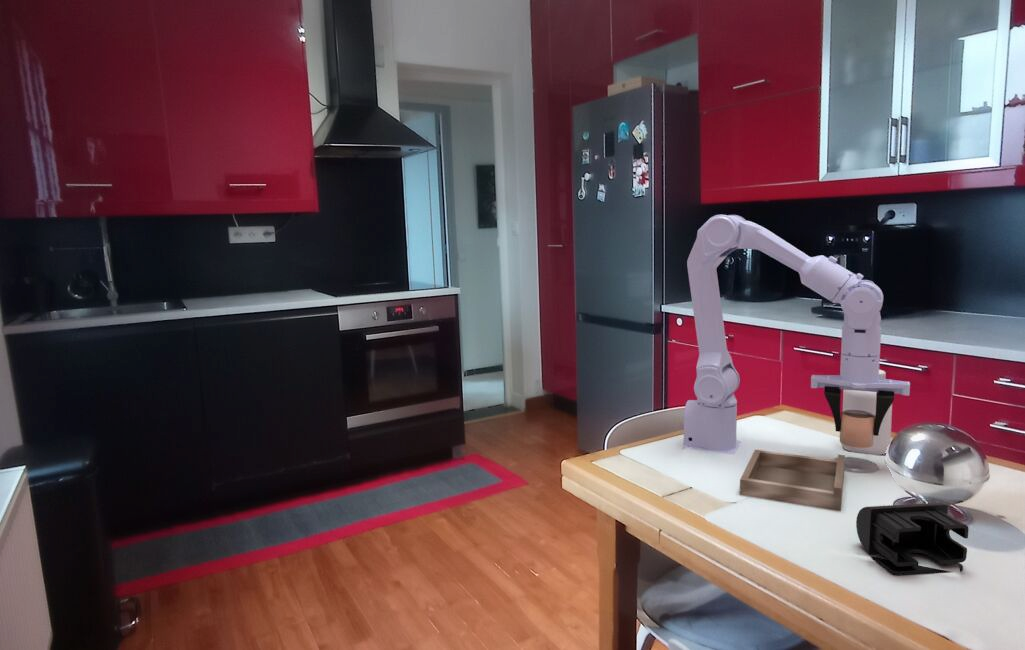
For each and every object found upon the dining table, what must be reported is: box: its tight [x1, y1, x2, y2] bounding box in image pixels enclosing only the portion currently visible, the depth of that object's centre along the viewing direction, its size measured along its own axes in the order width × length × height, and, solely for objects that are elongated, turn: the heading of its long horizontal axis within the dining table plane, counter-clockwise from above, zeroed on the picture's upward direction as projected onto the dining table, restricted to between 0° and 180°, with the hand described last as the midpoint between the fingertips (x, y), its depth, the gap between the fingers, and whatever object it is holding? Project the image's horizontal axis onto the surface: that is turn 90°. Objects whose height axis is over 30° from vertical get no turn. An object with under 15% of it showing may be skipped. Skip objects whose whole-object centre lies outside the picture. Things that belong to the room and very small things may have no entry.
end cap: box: [855, 502, 970, 577], centre depth 79 cm, size 10×7×7 cm
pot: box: [839, 410, 875, 448], centre depth 107 cm, size 5×5×5 cm
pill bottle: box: [841, 369, 893, 456], centre depth 117 cm, size 8×8×15 cm
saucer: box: [832, 456, 879, 474], centre depth 109 cm, size 7×7×1 cm
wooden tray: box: [739, 449, 846, 512], centre depth 101 cm, size 14×15×4 cm
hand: (856, 431), depth 108 cm, fingers closed on pot, 5 cm apart
